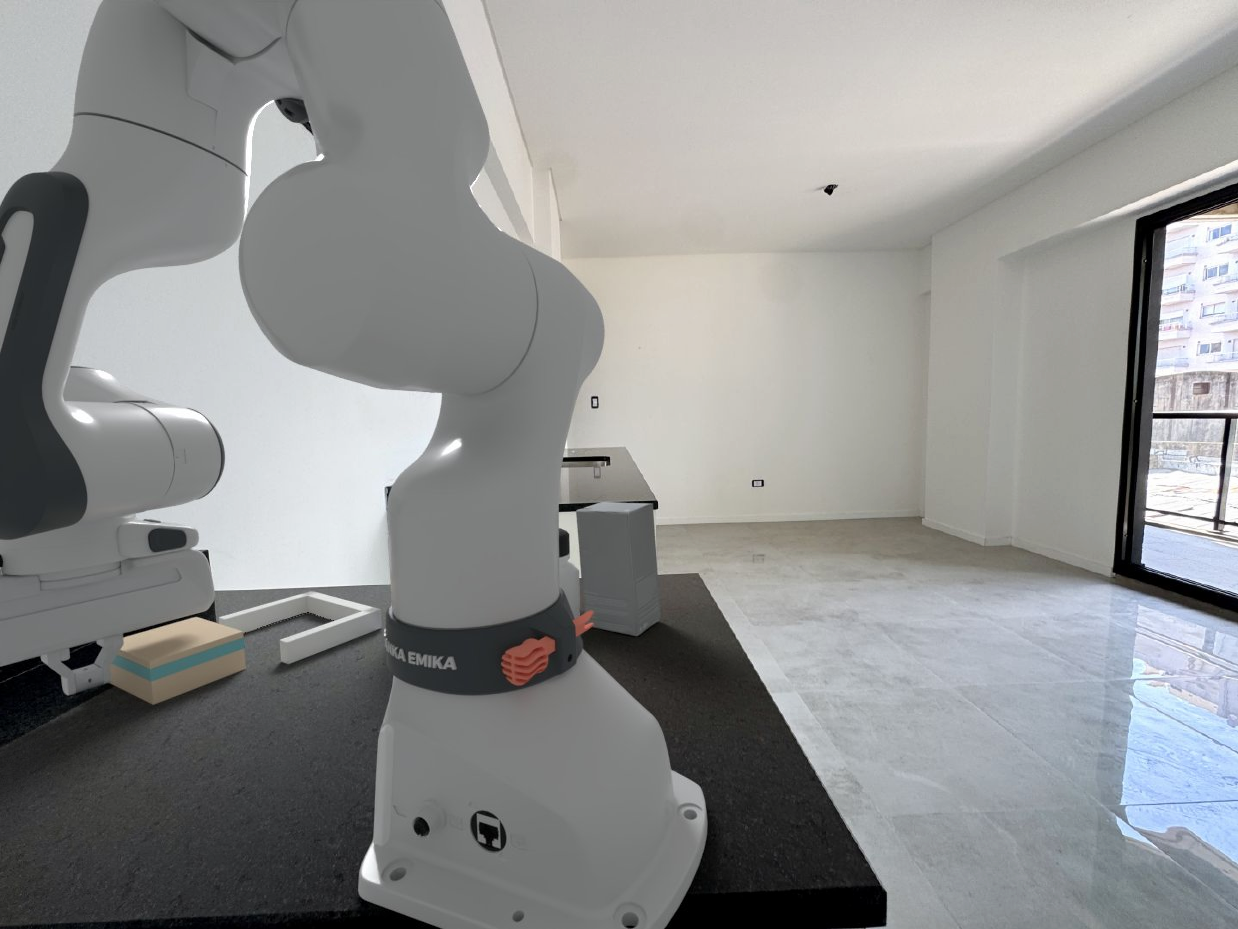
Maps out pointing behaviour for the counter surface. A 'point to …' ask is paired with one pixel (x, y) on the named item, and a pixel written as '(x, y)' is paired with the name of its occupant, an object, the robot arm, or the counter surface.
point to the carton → (177, 659)
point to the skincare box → (619, 566)
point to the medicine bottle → (568, 574)
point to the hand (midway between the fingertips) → (87, 687)
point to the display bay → (345, 627)
